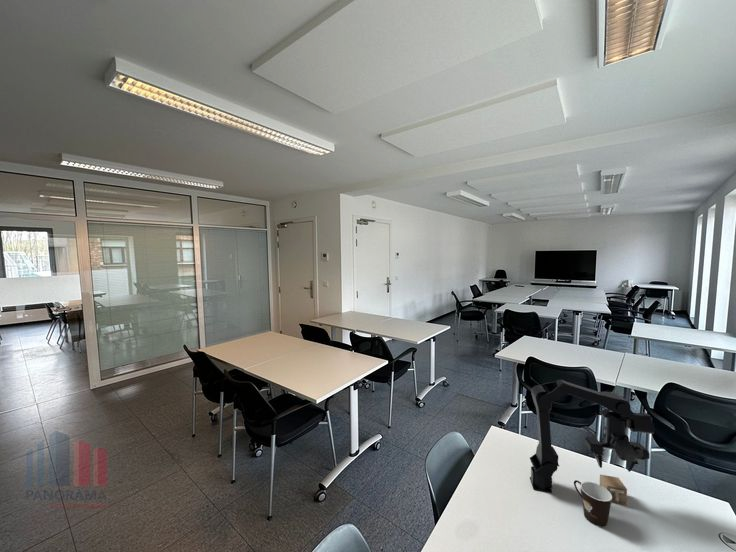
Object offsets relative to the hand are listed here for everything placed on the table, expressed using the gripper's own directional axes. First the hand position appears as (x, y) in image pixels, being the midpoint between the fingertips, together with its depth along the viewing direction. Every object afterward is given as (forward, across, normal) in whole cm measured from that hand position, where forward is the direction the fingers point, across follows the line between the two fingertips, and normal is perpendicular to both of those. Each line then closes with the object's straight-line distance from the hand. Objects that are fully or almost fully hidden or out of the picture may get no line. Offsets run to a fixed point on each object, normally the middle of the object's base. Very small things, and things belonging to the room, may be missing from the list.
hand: (614, 469), depth 109 cm
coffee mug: (+11, -12, -10) cm, 19 cm away
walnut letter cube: (+11, 0, 0) cm, 11 cm away
